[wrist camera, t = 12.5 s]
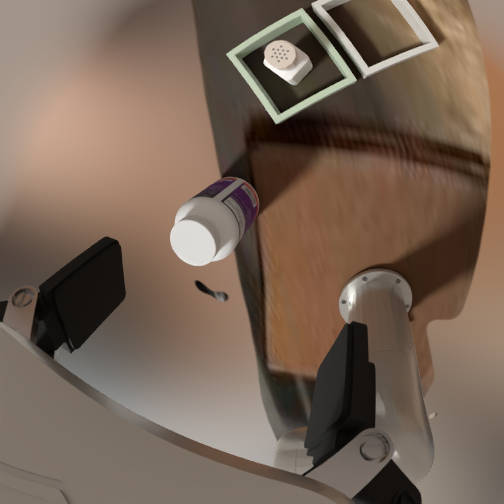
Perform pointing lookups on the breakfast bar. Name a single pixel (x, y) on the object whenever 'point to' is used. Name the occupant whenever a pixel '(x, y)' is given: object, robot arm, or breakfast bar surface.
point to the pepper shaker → (287, 61)
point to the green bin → (270, 34)
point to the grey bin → (320, 7)
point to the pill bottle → (214, 221)
